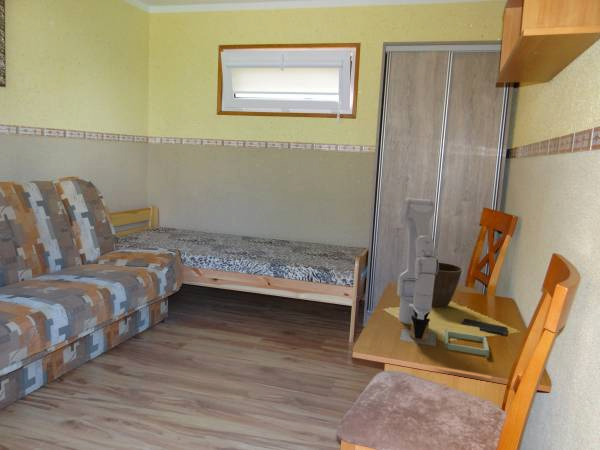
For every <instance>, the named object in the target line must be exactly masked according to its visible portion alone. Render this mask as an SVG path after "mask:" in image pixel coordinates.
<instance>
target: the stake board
mask: <svg viewBox="0 0 600 450" xmlns="http://www.w3.org/2000/svg"><path fill="white" fill-rule="evenodd" d="M410 331H411V329H406V328H402V330H401V334H400V338H399V341H402V342H408V343H412V344H413V343H415V344H419V345H426V346H432V347H437V334H436V333H431V332H428V336H427V340H422V341H421V340H415V339H413V338H411V337H410Z"/></svg>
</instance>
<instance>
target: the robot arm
mask: <svg viewBox="0 0 600 450" xmlns="http://www.w3.org/2000/svg"><path fill="white" fill-rule="evenodd" d="M435 208H436V206H435V201H434V199H425V198H424V199H423V198H414V197H413V198H412V197H406V198H405V199H404V201H403V207H402V221H403V222H404V223H405V224H406V225H407V248H406V249H407V254H406V270H405V271H403V272H402V273H400V274H399V275H398V278H397V283H396V294H397V296H398V297H399V298H400V301H399V309H398V310H399V311H398V317H397V318H398V321H399V322H400V323H402V324H406V325H411V322H412V321H413V324H414V334H415V338H418V339H422V337H423V334H424V331H425V328H426V326H427V324H429V322H430V321H431V318H428V317H429V315H430V313H431V312H432V310H433V308H432V306H431V305H432V297H433V288H434V280H435V275H437V273H438V269H439V263H440V262H439V258H438V256H437V254H436V251H435V244H434V239H433V238H432V237H431V236H430V221H431V220H432V217H433V216H434V214H435ZM434 274H435V275H434Z"/></svg>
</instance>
